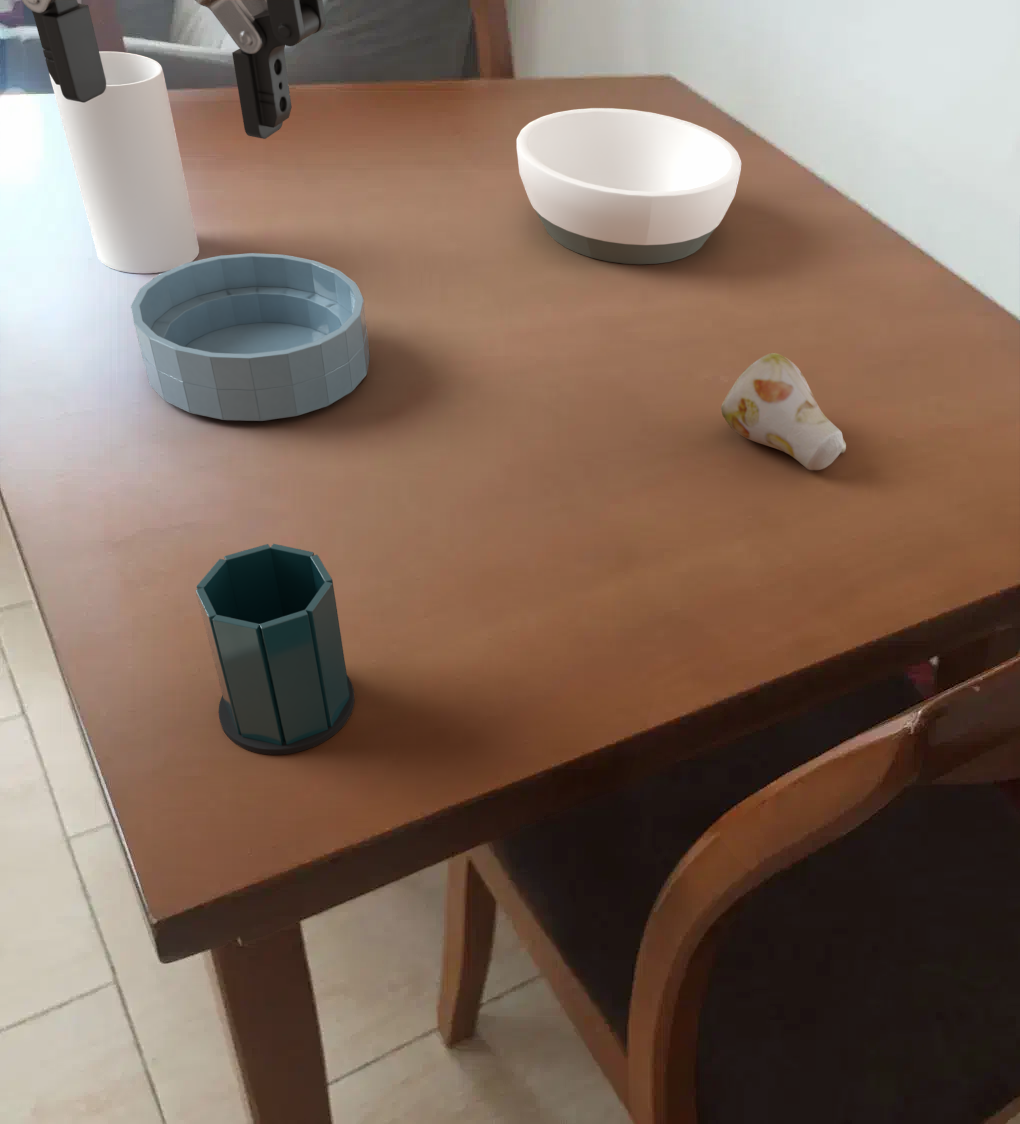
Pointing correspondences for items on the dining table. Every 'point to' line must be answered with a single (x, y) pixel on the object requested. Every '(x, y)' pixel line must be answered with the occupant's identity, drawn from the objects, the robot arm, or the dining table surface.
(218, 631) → the teal cup
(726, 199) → the bowl
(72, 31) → the robot arm
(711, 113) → the dining table surface
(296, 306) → the glazed bowl
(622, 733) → the dining table surface
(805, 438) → the white pear shape
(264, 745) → the coaster
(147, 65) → the cup
